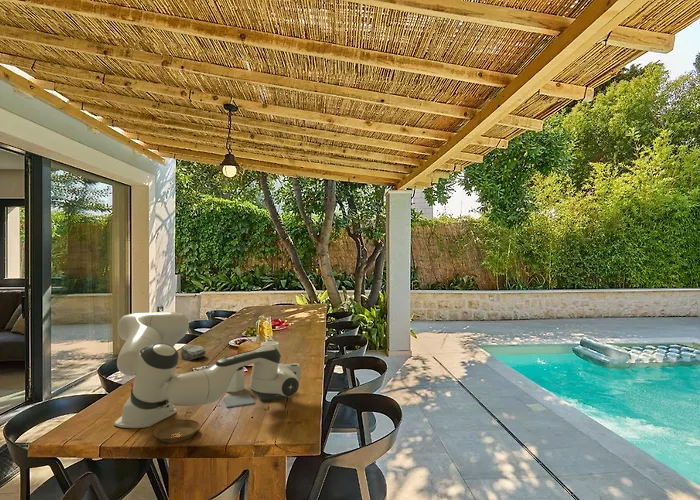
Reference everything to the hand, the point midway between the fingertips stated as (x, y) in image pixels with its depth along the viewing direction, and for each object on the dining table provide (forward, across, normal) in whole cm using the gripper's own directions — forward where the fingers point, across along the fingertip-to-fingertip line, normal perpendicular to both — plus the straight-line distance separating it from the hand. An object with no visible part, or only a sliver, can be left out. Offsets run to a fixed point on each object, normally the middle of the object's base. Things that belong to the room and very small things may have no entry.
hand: (272, 366), depth 182 cm
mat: (-2, -15, -13) cm, 20 cm away
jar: (+14, -14, -13) cm, 24 cm away
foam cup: (+44, +8, -13) cm, 46 cm away
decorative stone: (+79, -29, -14) cm, 86 cm away
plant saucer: (-26, -39, -13) cm, 49 cm away
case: (+3, 0, -13) cm, 13 cm away
